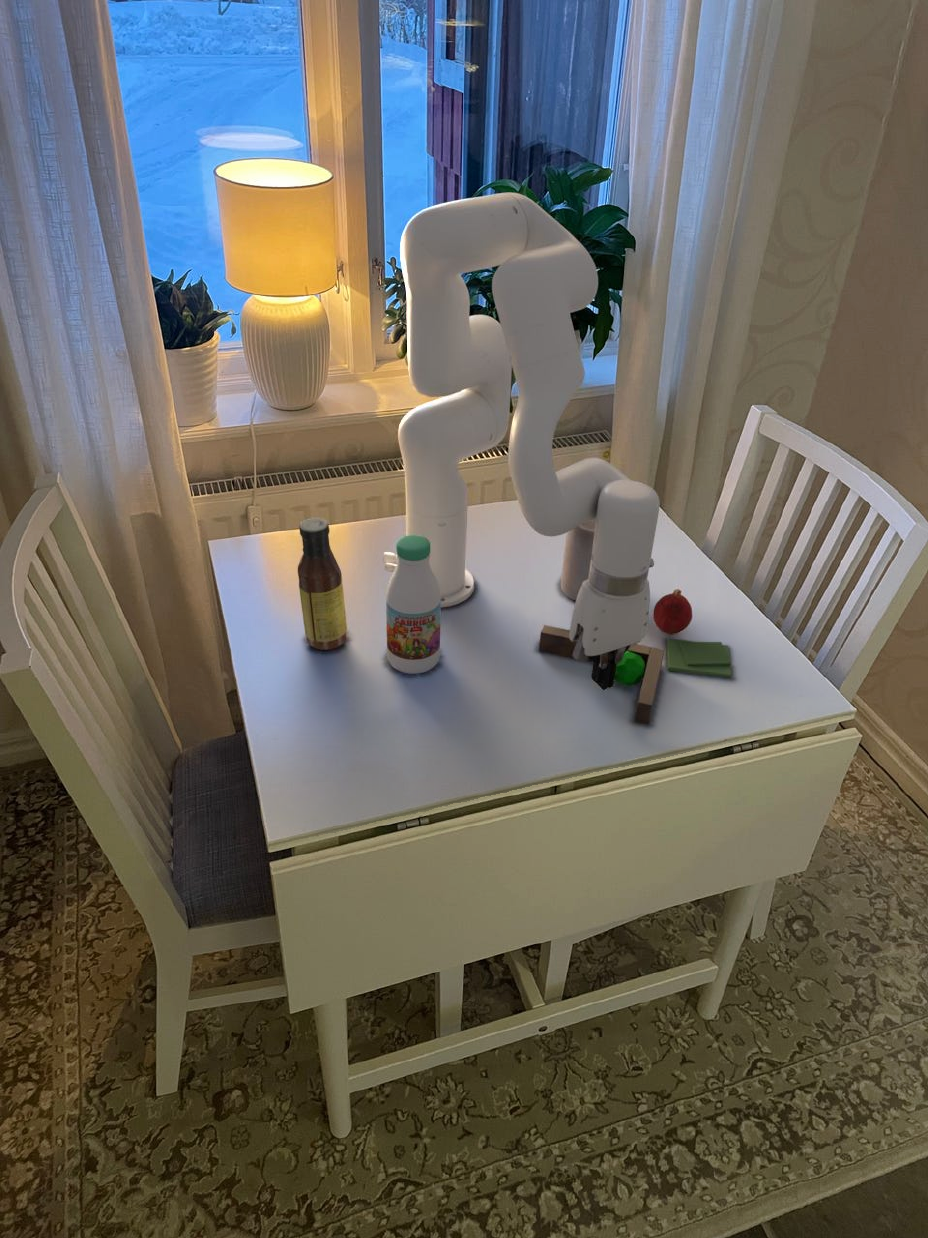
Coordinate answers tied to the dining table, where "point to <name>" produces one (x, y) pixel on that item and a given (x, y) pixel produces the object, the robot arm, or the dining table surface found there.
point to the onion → (672, 613)
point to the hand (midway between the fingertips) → (602, 682)
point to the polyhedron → (630, 669)
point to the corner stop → (562, 645)
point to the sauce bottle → (321, 588)
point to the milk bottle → (413, 609)
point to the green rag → (699, 658)
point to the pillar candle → (577, 558)
